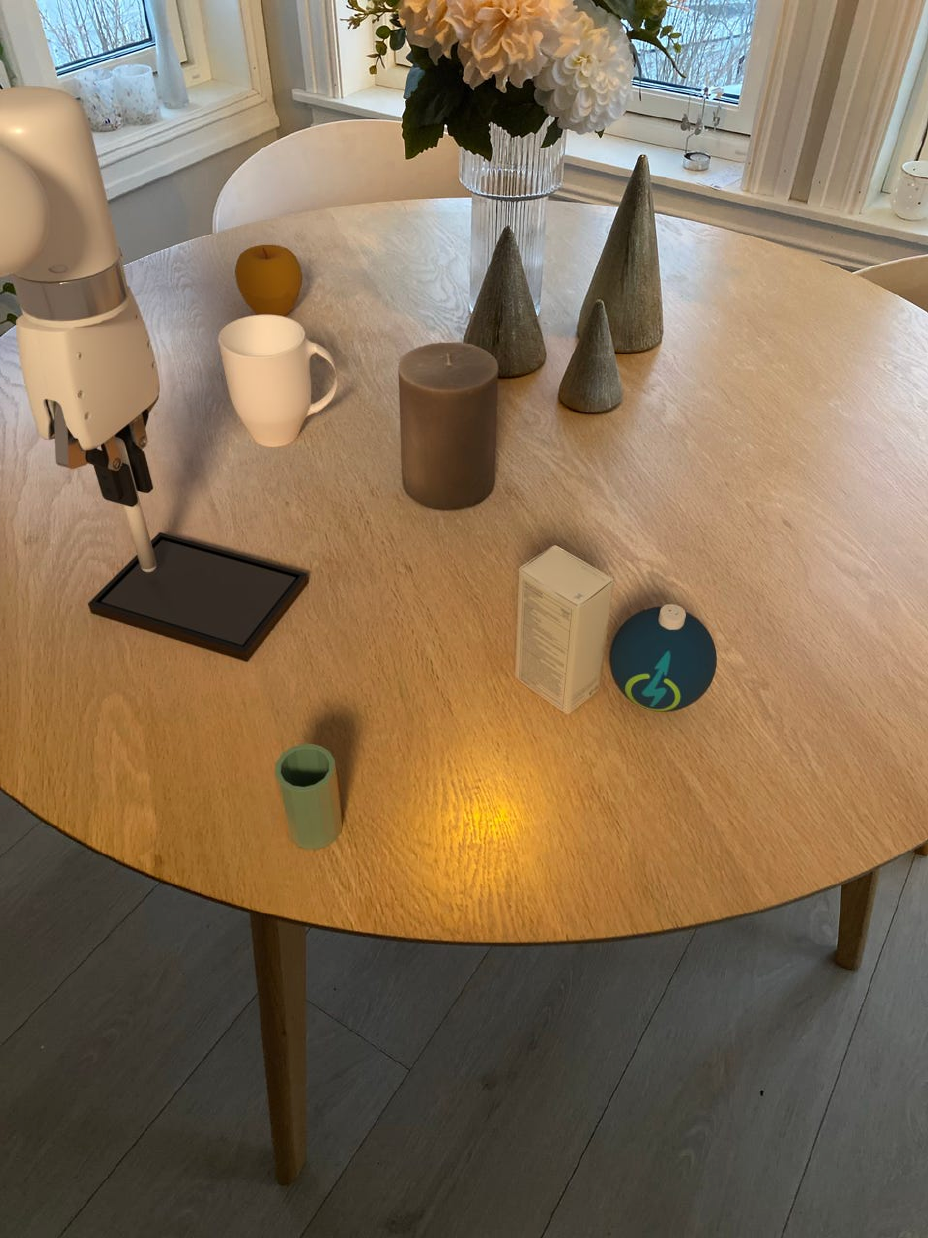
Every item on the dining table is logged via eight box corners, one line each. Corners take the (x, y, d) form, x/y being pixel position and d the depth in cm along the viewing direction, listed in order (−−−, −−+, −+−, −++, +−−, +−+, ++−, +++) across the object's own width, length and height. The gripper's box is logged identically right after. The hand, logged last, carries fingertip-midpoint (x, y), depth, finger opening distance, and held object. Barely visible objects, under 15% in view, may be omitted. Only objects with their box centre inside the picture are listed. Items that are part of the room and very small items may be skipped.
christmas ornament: (583, 696, 79) (596, 607, 72) (641, 643, 84) (658, 555, 77) (669, 750, 75) (692, 662, 68) (725, 691, 80) (751, 603, 73)
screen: (101, 603, 85) (100, 601, 85) (162, 541, 92) (162, 539, 91) (242, 647, 82) (242, 644, 81) (296, 579, 88) (295, 577, 88)
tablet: (90, 613, 85) (87, 603, 85) (162, 541, 93) (159, 531, 92) (247, 662, 81) (245, 652, 80) (308, 582, 89) (307, 573, 88)
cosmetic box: (601, 690, 80) (619, 580, 71) (565, 718, 77) (580, 608, 69) (545, 651, 83) (556, 541, 74) (509, 677, 81) (516, 567, 72)
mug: (234, 459, 103) (216, 357, 95) (236, 415, 109) (219, 316, 101) (343, 451, 104) (335, 350, 96) (339, 408, 111) (330, 310, 102)
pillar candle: (485, 517, 96) (490, 383, 86) (391, 504, 98) (385, 371, 87) (501, 463, 103) (508, 333, 93) (413, 451, 105) (410, 323, 94)
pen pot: (276, 840, 69) (263, 780, 64) (303, 796, 71) (293, 736, 67) (326, 858, 68) (317, 799, 63) (351, 813, 70) (345, 753, 66)
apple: (291, 293, 132) (283, 229, 126) (316, 318, 127) (310, 252, 121) (232, 307, 129) (221, 241, 123) (255, 333, 124) (245, 266, 118)
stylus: (139, 573, 87) (101, 441, 77) (148, 563, 88) (112, 432, 78) (152, 577, 86) (115, 444, 77) (161, 567, 87) (126, 436, 78)
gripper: (96, 237, 75) (145, 438, 87) (-50, 321, 64) (30, 537, 77) (178, 253, 73) (216, 457, 86) (41, 342, 62) (108, 560, 75)
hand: (128, 493), depth 81 cm, fingers closed on stylus, 1 cm apart
